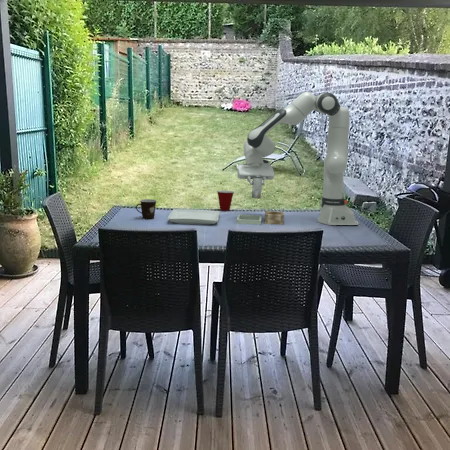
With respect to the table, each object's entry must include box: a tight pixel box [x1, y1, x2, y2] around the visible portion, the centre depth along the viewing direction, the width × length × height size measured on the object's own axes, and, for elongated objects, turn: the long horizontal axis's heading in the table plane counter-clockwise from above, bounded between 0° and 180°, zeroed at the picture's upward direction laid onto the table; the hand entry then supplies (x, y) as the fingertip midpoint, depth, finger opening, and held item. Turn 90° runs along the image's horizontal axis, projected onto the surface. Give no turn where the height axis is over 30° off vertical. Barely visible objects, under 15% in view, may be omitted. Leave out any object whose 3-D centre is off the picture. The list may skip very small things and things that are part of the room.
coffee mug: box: [135, 198, 157, 221], centre depth 281 cm, size 12×9×10 cm
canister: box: [251, 175, 263, 199], centre depth 274 cm, size 5×5×12 cm
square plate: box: [166, 208, 221, 225], centre depth 282 cm, size 27×27×4 cm
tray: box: [236, 214, 263, 225], centre depth 278 cm, size 13×13×3 cm
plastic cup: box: [216, 190, 235, 212], centre depth 311 cm, size 11×11×12 cm
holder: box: [264, 210, 285, 226], centre depth 278 cm, size 10×10×6 cm
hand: (257, 184), depth 273 cm, fingers closed on canister, 5 cm apart
